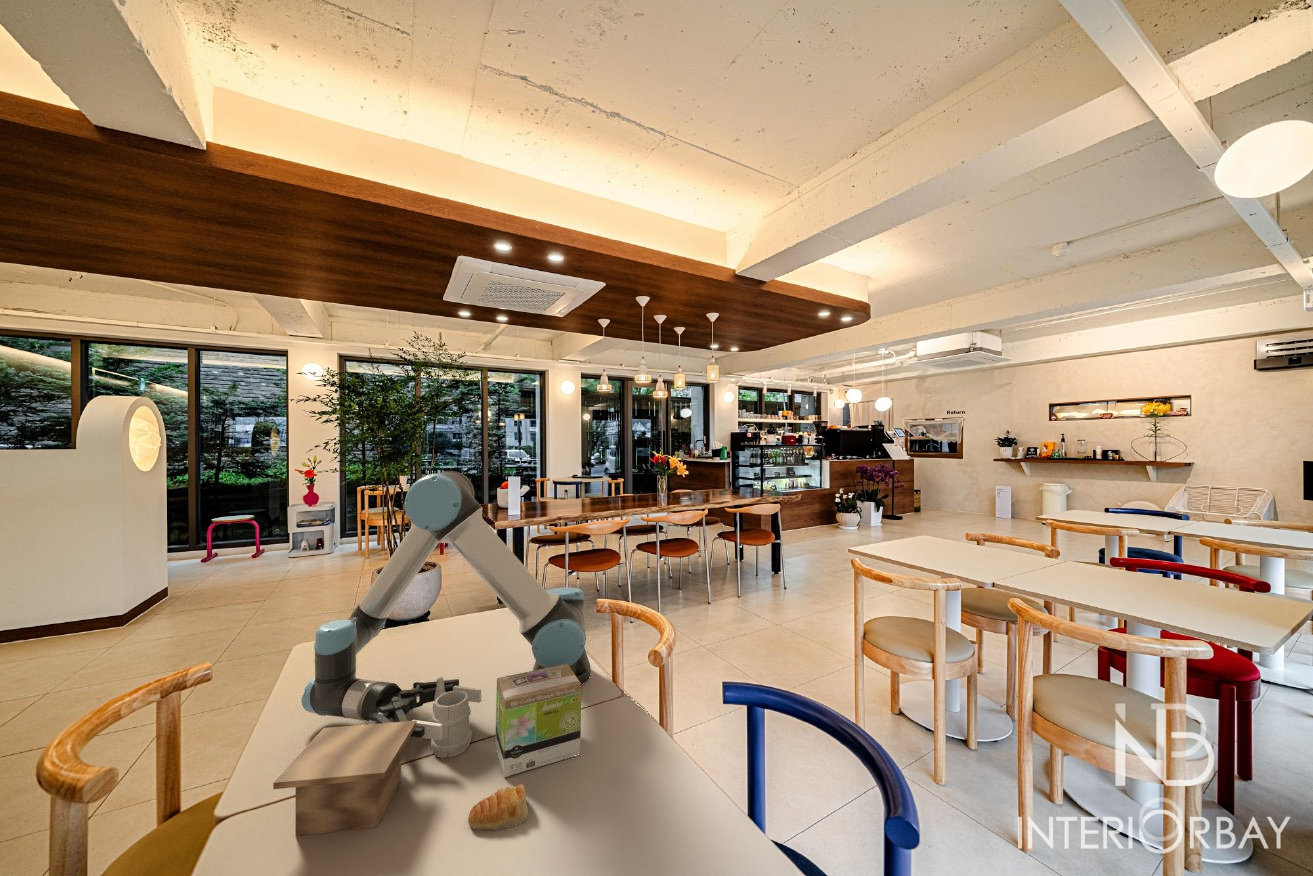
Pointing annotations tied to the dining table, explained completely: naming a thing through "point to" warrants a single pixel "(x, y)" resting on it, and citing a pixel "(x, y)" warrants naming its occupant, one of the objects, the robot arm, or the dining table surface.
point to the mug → (451, 721)
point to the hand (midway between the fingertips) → (462, 712)
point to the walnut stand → (346, 776)
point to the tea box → (537, 718)
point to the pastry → (500, 809)
